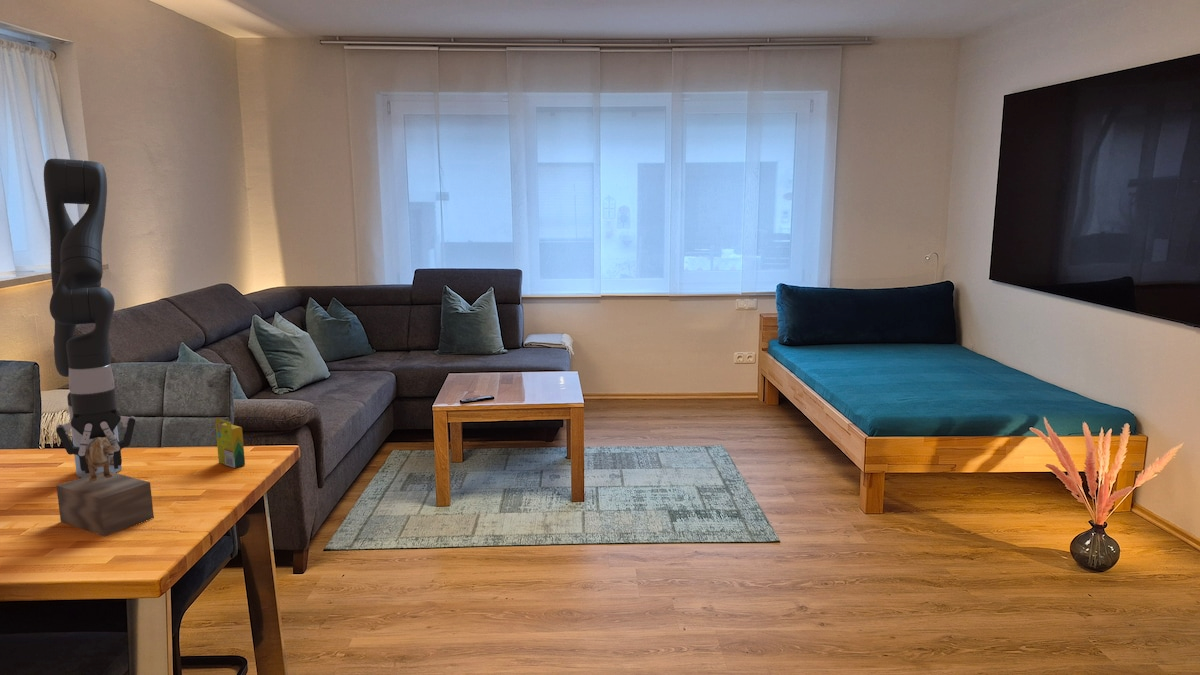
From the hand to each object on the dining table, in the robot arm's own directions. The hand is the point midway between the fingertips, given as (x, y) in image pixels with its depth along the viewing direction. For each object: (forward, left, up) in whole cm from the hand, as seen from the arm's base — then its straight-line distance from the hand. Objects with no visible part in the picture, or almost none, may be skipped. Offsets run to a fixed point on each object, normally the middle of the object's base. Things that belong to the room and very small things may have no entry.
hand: (101, 469), depth 161 cm
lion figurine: (-1, 0, -1) cm, 2 cm away
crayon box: (-24, +26, -11) cm, 37 cm away
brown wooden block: (0, 0, -11) cm, 11 cm away
